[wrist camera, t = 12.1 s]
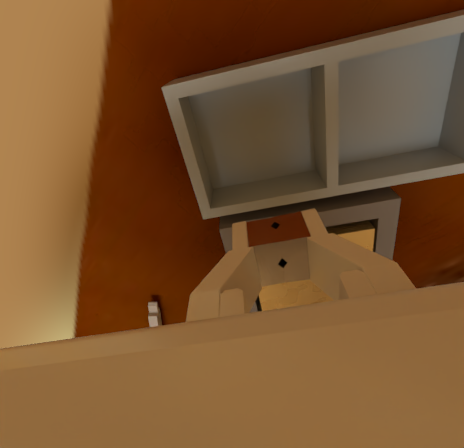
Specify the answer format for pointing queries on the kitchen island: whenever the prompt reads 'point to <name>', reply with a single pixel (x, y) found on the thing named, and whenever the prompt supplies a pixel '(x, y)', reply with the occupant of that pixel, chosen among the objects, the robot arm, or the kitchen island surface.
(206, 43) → the kitchen island surface
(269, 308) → the button
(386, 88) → the tray
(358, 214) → the square frame
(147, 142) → the kitchen island surface
